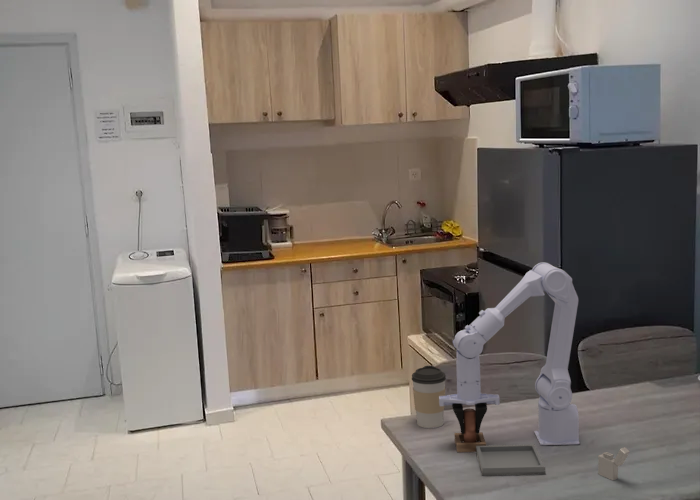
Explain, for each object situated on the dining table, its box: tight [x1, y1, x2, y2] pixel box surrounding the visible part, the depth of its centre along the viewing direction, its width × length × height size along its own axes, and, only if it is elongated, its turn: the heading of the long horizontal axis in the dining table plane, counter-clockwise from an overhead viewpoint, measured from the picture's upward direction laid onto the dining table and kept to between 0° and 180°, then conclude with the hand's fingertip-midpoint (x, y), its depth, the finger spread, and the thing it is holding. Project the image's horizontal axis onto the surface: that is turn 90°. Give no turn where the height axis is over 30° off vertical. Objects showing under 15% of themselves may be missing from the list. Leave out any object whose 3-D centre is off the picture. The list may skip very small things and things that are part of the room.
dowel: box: [463, 408, 476, 443], centre depth 180 cm, size 3×3×9 cm
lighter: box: [597, 446, 631, 481], centre depth 160 cm, size 7×2×8 cm, turn 32°
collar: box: [453, 431, 487, 453], centre depth 181 cm, size 7×7×2 cm
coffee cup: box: [411, 365, 447, 429], centre depth 195 cm, size 9×9×15 cm
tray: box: [475, 444, 546, 477], centre depth 170 cm, size 14×12×2 cm
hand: (469, 432), depth 180 cm, fingers closed on dowel, 3 cm apart
